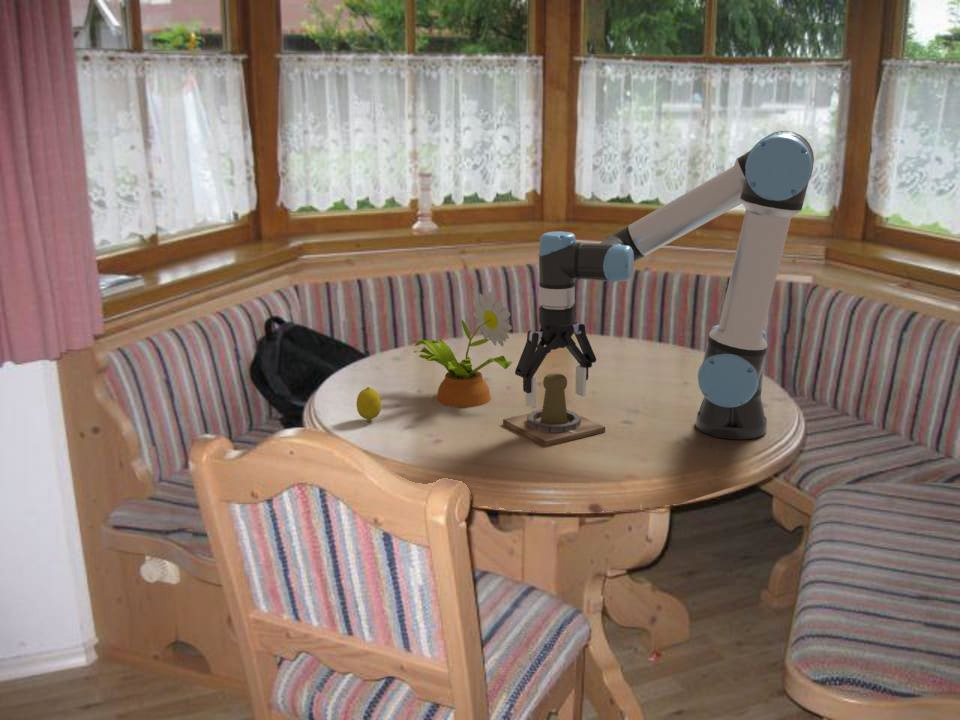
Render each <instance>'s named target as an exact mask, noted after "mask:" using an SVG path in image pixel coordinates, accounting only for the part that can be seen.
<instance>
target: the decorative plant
mask: <svg viewBox="0 0 960 720" xmlns="http://www.w3.org/2000/svg"><path fill="white" fill-rule="evenodd" d="M478 297H479V299H478V300H477V301H476V300H472V304H473V307H474V308H473V310H474V312H473V313H472V315H473V317H474V318H476V322H477V325H476V329H475V331H474V333H473V334H471V333H470V330H469V328H468V326H467V324H466V323H465V321H464V320H463V319H461V327H462V329H463V331H464V333H465V335H466V337H467V339H468V340H469V341H468V344H467V349H466V352H465V359H462V360H461V361H460V362H459V361H458V360H457V358H456V356H455V355H454V352H453V350H452V349H451V347H450V345H448V344H446V343H445V342H444V341H443V339H440V338H439V339H435V340H433V339H432V338H430V340H426V339H420V340H417V341H416V342H415V344H414V347H417V346H420V345H425V346H427V348H426V347H425V346H423V348H422V349H421V350H419V351H418V350H413V354H415V353H420V354H419V356H418V358H422V359H425V360H426V361H429V362H436V363H437V364H440V365H441V366H444V368H445V369H446V370H447V372H446V373H445V375H444V379H443V380H442V381H441V383H440V384H439V386H438V389H437V395H436V397H435V398H436V402H437V403H439V404H441V405H442V406H443V405H444V406H447V407H451V408H473V407H474V408H475V407H479V406H483V405H486V404H488V403H489V402H491V401H492V396H491V393H490V388H489V386H488V383H487V382H486V380H485V379H484V378H483V374H482V372H480V371H479V370H481V369H483V368H484V367H485V366H488V365H489V364H491V363H493V362H495V363H497V364H498V365H499V366H501V367H502V368H504V370H507V369H508V368H509V367H510V366H511V365H512V364H513V362H512V361H510V360H507V359H506V357H505V356H504V355H500V356H499V357H498V356H496V357H490V358H489V359H487V360H486V361H484V362H483V363H481V364H480V365H478V366H477V367H476V368H474V369H473V368H472V367H473V364H472V362H471V361H473V359H472V358H470V357H469V356H468V355H469V351H470V347H477V346H481V345H483V344H485V343H488V342H489V341H491V342H492V344H493V346H497V343H498V344H499V345H500V346H501V347H504V344H505V343H504V342H507V340H508V339H510V336H509V334H508V333H510V330H513V327H512V325H511V324H509V323H510V320H509V319H508V318H509V317H510V316H511V312H510V311H507V310H506V307H505V306H504V301H499V300H498V299H496V300H493V295H492V292H491V291H489V292H488V293H487V294H485V295H483V294H482V293H479V296H478ZM478 331H481V332H482V335H483V338H482V339H478V340H476V341H474V342H472V339H473V338H474V337H475V336H476V334H477V332H478ZM471 335H472V336H471ZM423 353H424V354H423Z"/></svg>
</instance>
